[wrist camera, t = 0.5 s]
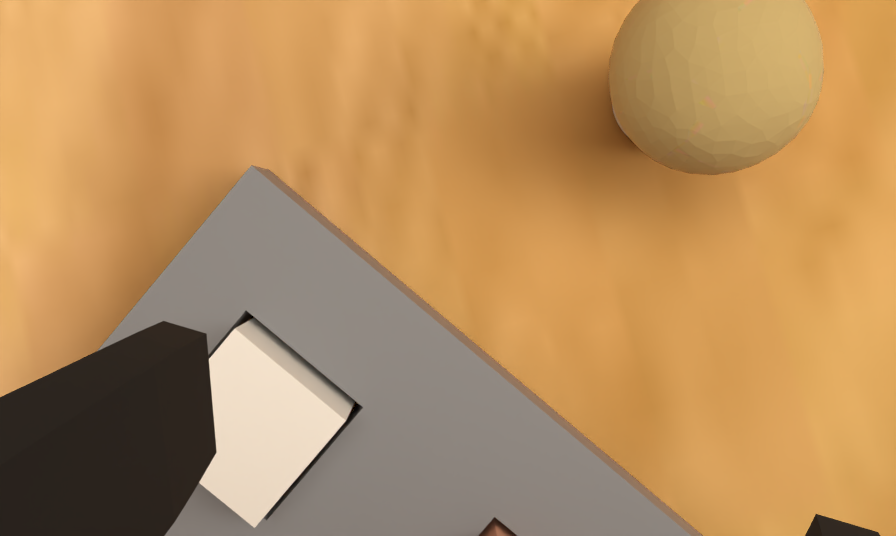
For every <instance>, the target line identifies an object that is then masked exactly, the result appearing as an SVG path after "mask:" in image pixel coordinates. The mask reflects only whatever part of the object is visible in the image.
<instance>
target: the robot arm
mask: <svg viewBox="0 0 896 536" xmlns="http://www.w3.org/2000/svg"><path fill="white" fill-rule="evenodd" d="M216 453H217V451H216V439H215V427H214V416H213V404H212V392H211V380H210V368H209V357H208V345H207V334H206V333H203V332H200V331H196V330H193V329H189V328H186V327H183V326H179V325H176V324H173V323H169V322H166V321H162V322H160V323H157V324H155V325H153V326H150V327H148V328H146V329H143V330H141V331H139V332H137V333H135V334H132V335H130V336H128V337H126V338H124V339H122V340H120V341H118V342H115V343H113V344H111V345H109V346H107V347H105V348H103V349H101V350H99V351H97V352H95V353H93V354H90V355H88V356H86V357H84V358H82V359H80V360H78V361H76V362H74V363H72V364H70V365H68V366H66V367H64V368H61V369H59V370H57V371H55V372H53V373H51V374H49V375H47V376H45V377H43V378H40V379H38V380H36V381H34V382H32V383H30V384H28V385H26V386H23V387H21V388H19V389H17V390H15V391H13V392H11V393H9V394H6V395H4V396H2V397H0V536H165V534H166V533H167V532H168V530H169V529H170V528H171V526H172V525H173V524H174V523H175V521H176V519H177V518H178V516H179V515H180V513H181V511H182V510H183V508H184V507H185V505H186V503H187V502H188V500H189V499H190V497H191V495H192V494H193V492H194V491H195V489H196V487H197V485H198V484H199V482H200V480H201V478H202V477H203V475H204V473H205V472H206V470H207V468H208V466H209V465H210V463H211V461H212V460H213V458H214V456H215V454H216ZM805 536H880V535H879V533H878V532H875V531H872V530H868V529H865V528H862V527H858V526H855V525H852V524H848V523H845V522H841V521H838V520H835V519H831V518H828V517H825V516H821V515H818V514H816V515H815V517H814V519H813V521H812V523H811V525H810V527H809V529H808V531H807V533H806V535H805Z"/></svg>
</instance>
